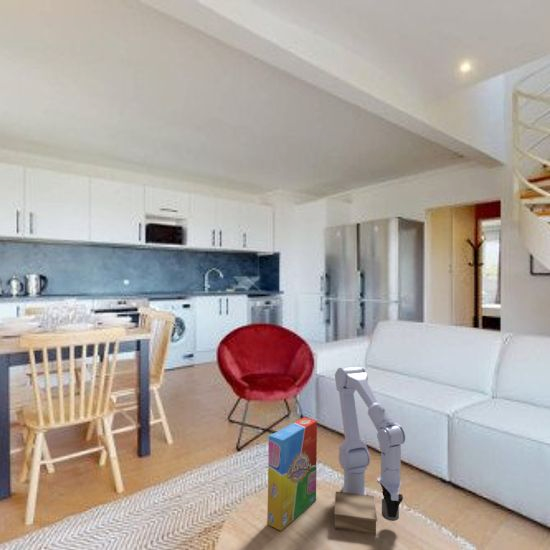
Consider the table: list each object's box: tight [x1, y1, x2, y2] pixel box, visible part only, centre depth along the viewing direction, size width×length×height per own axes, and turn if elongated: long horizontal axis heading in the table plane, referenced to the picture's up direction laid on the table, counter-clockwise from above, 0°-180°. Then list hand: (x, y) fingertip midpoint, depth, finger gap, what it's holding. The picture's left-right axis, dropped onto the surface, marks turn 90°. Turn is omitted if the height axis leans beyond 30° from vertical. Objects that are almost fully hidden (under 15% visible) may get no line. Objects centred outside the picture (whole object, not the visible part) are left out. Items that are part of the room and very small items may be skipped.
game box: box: [266, 417, 318, 531], centre depth 121 cm, size 21×6×27 cm, turn 143°
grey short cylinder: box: [381, 497, 400, 522], centre depth 113 cm, size 5×5×4 cm
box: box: [334, 516, 377, 535], centre depth 117 cm, size 12×12×4 cm
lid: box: [334, 490, 378, 522], centre depth 117 cm, size 12×12×1 cm
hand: (390, 510), depth 113 cm, fingers closed on grey short cylinder, 5 cm apart
